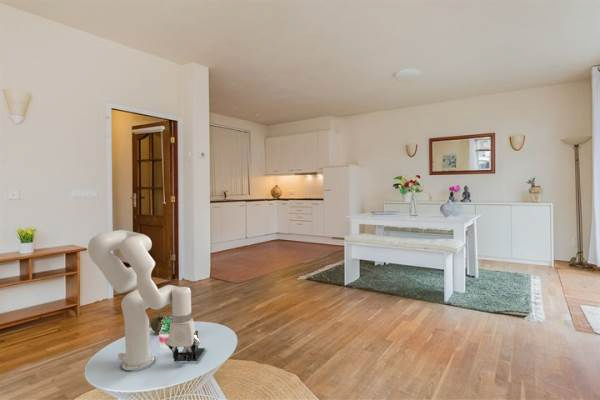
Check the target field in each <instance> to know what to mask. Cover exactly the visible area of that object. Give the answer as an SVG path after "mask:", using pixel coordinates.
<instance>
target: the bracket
mask: <svg viewBox="0 0 600 400" xmlns="http://www.w3.org/2000/svg"><path fill="white" fill-rule="evenodd" d="M195 334H196V337H197V338H198V339H199V330H195ZM194 344H195V341H194V342H193V345H194ZM205 350H206V348H205V347H199V345H198V346H197V347H195V349H194V350H193V358H192V359H191V360H190V362H198V361H199V359H200V357H201V356H202V355H203V353H204V351H205ZM186 352H189V350H188V348H187V350H186ZM176 362H188V356H179V358H178V360H177V361H176Z"/></svg>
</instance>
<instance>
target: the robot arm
mask: <svg viewBox="0 0 600 400" xmlns="http://www.w3.org/2000/svg"><path fill="white" fill-rule="evenodd" d="M87 244H88V245H87V253H88V256H89V258H90V260H91V261H92V262H93V263H94V265H96V267H97V268H98V269H99V270H100V272H101V273H102V275H103V276H104V278H105V279H106V280H107V282H108V283H109V285H110V286H111V288H112V289H113V291H115V292H116V293H117V294H118V293H119V294H122V293H126V292H128V291H130V292H128V293H127V294H126V295H125V296H124V297H123V298H122V300H121V309H122V310H121V311H122V315H123V320H124V341H125V343H124V344H125V345H124V346H125V352H118V354H117V361H122V363H121V367H122V369H123V370H124V371H133V370H137V369H141V368H144V367H147V366H148V365H150V364H152V363H153V362H154V361H155V356H154V355H153V354H151V336H150V335H151V334H150V333H151V331H150V319H149V316H148V314H147V312H146V310H147V309H151V310H161V309H163V308H165V307H166V306H167V305H168V306H169V305H170V304H171V312H172V313H171V314H169V317H168V318H169V319H171V321H170V323H169V330H168V338H167V340H166V341H165V342H164V344H165V345H166V346H167V347H168V348H169V349H170V350H171V352H172V359H173V362H178V361H177V360H178V358H179V356H177V352H179V349H178V347H179V348H181V347H183V348H184V347H188V350H189V352H188V361H187V362H188V363H190V362H191V361H190V360H191V359H192V358H193V350H194V349H195V347H197V346H198V347H199V345H200V344H201V342H202V341H201V340H200V339H199V337H198V338H197V337H196V334H195V331H196V328H195V327H196V326H195V321H194V319H193V318H192V291H191V288H190V287H188V286H177V285H173V284H167V285H164V286H162V287H159V288H158V287H157V285H156V284H155V282H154V281H153V279H152V272H153V270H154V268H155V266H156V261H155V260H154V258H153V257H152V256H151V255H150V253H149V251H150V250H151V249H152V246H153V243H152V240H151V238H150V237H149V236H148V235H146V234H144V233H139V232H135V231H131V230H126V229H118V230H111V231H105V232H100V233H97V234H95V235H94V236H92V237H91V238H90V239H89V241H88V243H87ZM117 250H119V251H120V253H121V254H122V256H123V257H124V259H125V260H126V262H127V264H129V267H127V266H126V265H125V264H124V263H123V261H122V260H121V258H119V257H118V256H117V255H115V254H114V253H112V251H117ZM194 341H195V344H194V345H193V342H194Z"/></svg>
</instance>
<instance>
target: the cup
mask: <svg viewBox="0 0 600 400" xmlns="http://www.w3.org/2000/svg"><path fill="white" fill-rule="evenodd" d="M165 317H166V316H162V315H161V316H160V315H157V316H154V317H152V318H151V319H149V323H150V328H151V330H152V331H153V333H154V334H155V335H157V336H158V335H160V334H159V332H160V330H161V327H162V324H161V320H162V319H163V318H165Z"/></svg>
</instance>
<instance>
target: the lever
mask: <svg viewBox="0 0 600 400" xmlns="http://www.w3.org/2000/svg"><path fill="white" fill-rule="evenodd" d="M187 348H188V347H183V349H182V351H181V352H179V351H178V352H177V356H188V352H186V350H187Z"/></svg>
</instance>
